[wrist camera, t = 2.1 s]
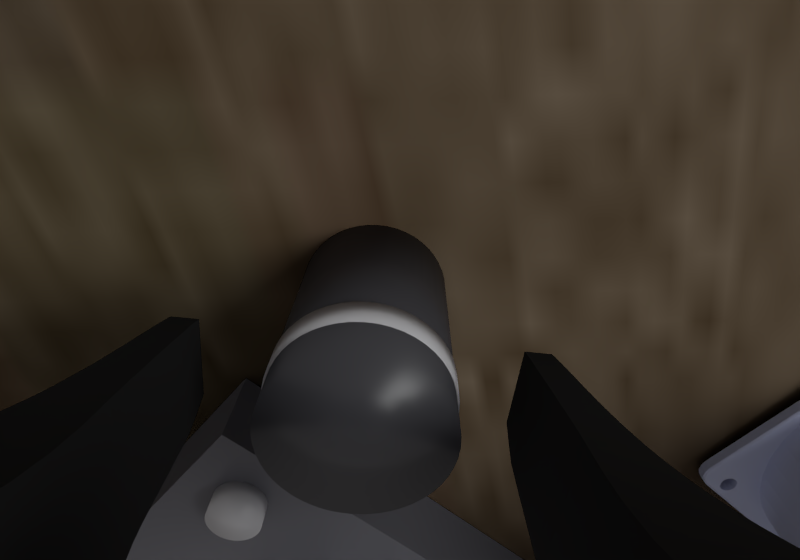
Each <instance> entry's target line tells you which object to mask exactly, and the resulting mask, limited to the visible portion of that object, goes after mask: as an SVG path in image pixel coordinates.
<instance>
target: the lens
mask: <svg viewBox="0 0 800 560" xmlns="http://www.w3.org/2000/svg"><path fill="white" fill-rule="evenodd" d="M459 407H460V397H459V388H458V379H457V371H456V366H455V363H454V359H453V356H452V347H451V337H450V328H449V319H448V310H447V301H446V292H445V283H444V277H443V273H442V270H441V268H440V265H439V263H438V261H437V260H436V258H435V256H434V255H433V254H432V252H431V251H430V250H429V249H428V248H427V247H426V246H425V245H424V244H423V243H422V242H421V241H419V240H418V239H416V238H415V237H413V236H412V235H410V234H408V233H406V232H404V231H401V230H398V229H395V228H391V227H388V226H380V225H365V226H358V227H354V228H349V229H347V230H344V231H342V232H339V233H338V234H336V235H334V236H332V237H331V238H329V239H328V240H327V241H325V242H324V243H323V244H322V245H321V246H320V247H319V248H318V249H317V251H316V252H315V253H314V255H313V256H312V258H311V260H310V262H309V264H308V267H307V270H306V272H305V275H304V278H303V280H302V283H301V286H300V288H299V291H298V293H297V296H296V299H295V301H294V304H293V307H292V309H291V312H290V315H289V317H288V320H287V323H286V325H285V328H284V331H283V333H282V336H281V338H280V339H279V341H278V343H277V344H276V346H275V348H274V350H273V353H272V356H271V358H270V361H269V364H268V366H267V369H266V371H265V374H264V377H263V381H262V386H261V392H260V395H259V397H258V400H257V403H256V405H255V408H254V410H253V413H252V419H251V428H250V435H251V441H252V446H253V449H254V452H255V455H256V457H257V459H258V461H259V463H260V465H261V466H262V467H263V469H264V470H265V472H266V473H267V474H268V475H269V476H270V477H271V479H272V480H273V481H274V482H275V483H276V484H278V485H279V486H280V487H281V488H282V489H284V490H285V491H287V492H288V493H289V494H291V495H292V496H294V497H296V498H298V499H300V500H302V501H304V502H306V503H308V504H311V505H313V506H316V507H319V508H322V509H325V510H329V511H334V512H339V513H347V514H376V513H383V512H389V511H393V510H397V509H400V508H403V507H406V506H409V505H411V504H414V503H416V502H417V501H419V500H421V499H423V498H425V497H426V496H428V495H429V494H431V493H432V492H433V491H435V490H436V489H437V488H438V487H439V486H440V485H441V484H442V483H443V482H444V481H445V480H446V479H447V477H448V476H449V475H450V473H451V471H452V470H453V468H454V466H455V464H456V462H457V459H458V457H459V452H460V448H461V429H460V419H459Z"/></svg>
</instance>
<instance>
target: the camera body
mask: <svg viewBox="0 0 800 560" xmlns="http://www.w3.org/2000/svg"><path fill="white" fill-rule="evenodd" d="M260 392H261V388H260V387H259V386H257V385H256V384H254V383H253V382H251V381H250V380H248V379H247V378H246V379H245V380H244V381H243V382H242V383H241V384H240V385H239V386H238V387H237V388H236V389H235V390H234V391H233V393H232V394H231V395H230V396H229V397H228V398H227V399H226V400H225V401H224V402H223V403H222V404H221V405H220V406H219V407H218V409H217V410H216V411H215V412H214V413H213V414H212V415H211V416H210V417H209V418H208V419H207V420H206V421H205V422H204V423H203V425H202V426H201V427H200V428H199V429H198V430H197V431H196V432H195V433H194V434H193V435H192V436H191V437H190V438H189V439H188V441H187V442H186V443H185V444H184V445H183V447H182V449H181V451H180V453H179V455H178V457H177V459H176V461H175V462H174V464H173V466H172V468H171V470H170V472H169V474H168V476H167V478H166V480H165V481H164V483H163V485H162V487H161V489H160V491H159V493H158V495H157V497H156V498H155V500H154V502H153V504H152V506H151V508H150V510H149V512H148V513H147V515H146V517H145V519H144V521H143V523H142V525H141V527H140V529H139V531H138V533H137V536H136V538H135V540H134V542H133V544H132V547H131V549H130V551H129V554H128V556H127V559H126V560H523V559H522V558H520V557H519V556H517V555H516V554H514V553H513V552H511V551H510V550H508V549H507V548H505V547H504V546H502V545H500V544H499V543H497V542H496V541H494V540H493V539H491V538H490V537H488V536H487V535H485V534H484V533H482V532H481V531H479V530H478V529H476V528H474V527H473V526H471V525H470V524H468V523H467V522H465V521H464V520H462V519H461V518H459V517H458V516H456V515H455V514H453V513H452V512H450V511H448V510H447V509H445V508H444V507H442V506H441V505H439V504H438V503H436V502H435V501H433V500H432V499H430V498H429V497H427V496H426V497H425V498H423V499H421V500H419V501H417V502H416V503H414V504H411V505H409V506H406V507H403V508H400V509H397V510H393V511H389V512H383V513H376V514H347V513H339V512H334V511H329V510H325V509H322V508H319V507H316V506H313V505H311V504H308V503H306V502H304V501H302V500H300V499H298V498H296V497H294V496H292V495H291V494H289V493H288V492H287V491H285V490H284V489H282V488H281V487H280V486H279V485H278V484H276V483H275V482H274V481H273V480H272V479H271V477H270V476H269V475H268V474H267V473H266V472H265V470H264V469H263V467H262V466H261V465H260V463H259V461H258V459H257V457H256V455H255V452H254V449H253V446H252V441H251V435H250V428H251V419H252V413H253V410H254V408H255V405H256V403H257V400H258V397H259V395H260Z"/></svg>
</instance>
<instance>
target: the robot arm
mask: <svg viewBox="0 0 800 560" xmlns="http://www.w3.org/2000/svg"><path fill="white" fill-rule="evenodd" d="M203 394H204V392H203V376H202V360H201V344H200V328H199V319H191V318H181V317H169V318H167V319H165V320H164V321H162V322H160V323H159V324H157V325H155V326H154V327H152V328H150V329H149V330H147V331H146V332H144V333H142V334H141V335H139V336H138V337H136V338H135V339H133V340H131V341H130V342H128V343H127V344H125V345H123V346H122V347H120V348H118V349H117V350H115V351H114V352H112V353H110V354H109V355H107V356H105V357H104V358H102V359H101V360H99V361H97V362H96V363H94V364H92V365H90V366H88V367H87V368H85V369H83V370H81V371H79V372H78V373H76V374H74V375H72V376H70V377H69V378H67V379H65V380H63V381H61V382H60V383H58V384H56V385H54V386H52V387H50V388H48V389H46V390H45V391H43V392H41V393H38V394H36V395H34V396H32V397H30V398H28V399H26V400H24V401H22V402H20V403H17V404H15V405H13V406H11V407H9V408H6V409H4V410H2V411H0V560H126V559H127V556H128V554H129V551H130V549H131V547H132V544H133V542H134V540H135V538H136V536H137V533H138V531H139V529H140V527H141V525H142V523H143V521H144V519H145V517H146V515H147V513H148V512H149V510H150V508H151V506H152V504H153V502H154V500H155V498H156V497H157V495H158V493H159V491H160V489H161V487H162V485H163V483H164V481H165V480H166V478H167V476H168V474H169V472H170V470H171V468H172V466H173V464H174V462H175V461H176V459H177V457H178V455H179V453H180V451H181V449H182V447H183V445H184V443H185V441H186V439H187V437H188V435H189V433H190V430H191V428H192V425H193V423H194V420H195V417H196V414H197V412H198V409H199V406H200V403H201V400H202V397H203ZM507 430H508V440H509V448H510V456H511V464H512V468H513V472H514V476H515V480H516V484H517V488H518V492H519V496H520V500H521V504H522V508H523V512H524V516H525V520H526V524H527V528H528V531H529V535H530V539H531V543H532V547H533V551H534V555H535V559H536V560H800V400H799V401H797V402H796V403H794V404H793V405H791V406H790V407H788V408H787V409H785V410H783V411H782V412H780V413H779V414H777V415H776V416H774V417H773V418H771V419H770V420H768V421H766V422H765V423H763V424H762V425H760V426H759V427H757V428H756V429H754V430H752V431H751V432H749V433H748V434H746V435H745V436H743V437H742V438H740V439H738V440H737V441H735V442H734V443H732V444H731V445H729V446H728V447H726V448H725V449H723V450H721V451H720V452H718V453H717V454H715V455H714V456H712V457H711V458H709V459H707V460H706V461H705V462H704V463H702V464H701V466H700V468H699V474H700V476H701V478H702V480H703V481H704V482H705V484H706V485H707V486H709V487H710V488H711V489H712V490H713V491H715V492H716V493H717V494H718V495H720V496H721V497H722V498H723V499H724V500H726V501H727V502H728V503H729V504H731V505H732V506H733V507H734V508H735V509H737V510H738V511H739V512H740V513H741V514H743V515H744V516H745V517H744V516H743V515H741V514H740V513H738V512H736V511H735V510H733V509H732V508H730V507H729V506H727V505H726V504H724V503H723V502H721V501H720V500H718V499H717V498H715V497H713V496H712V495H710V494H709V493H707V492H706V491H704V490H703V489H702V488H700V487H699V486H697V485H696V484H694V483H693V482H692V481H690V480H689V479H687V478H686V477H685V476H683V475H682V474H681V473H680V472H678V471H677V470H676V469H674V468H673V467H672V466H670V465H669V464H668V463H667V462H665V461H664V460H663V459H661V458H660V457H659V456H658V455H656V454H655V453H654V452H653V451H651V450H650V449H649V448H648V447H647V446H645V445H644V444H643V443H642V442H641V441H640V440H639V439H638V438H636V437H635V436H634V435H633V434H632V433H631V432H630V431H629V430H627V429H626V428H625V427H624V426H623V425H622V424H621V423H620V422H619V421H618V420H617V419H616V418H614V417H613V416H612V415H611V414H610V413H609V412H608V411H607V410H606V409H605V408H604V407H603V406H602V405H601V404H600V403H599V402H598V401H597V400H596V399H595V398H594V397H593V396H592V395H591V394H590V393H589V392H588V391H587V390H586V389H585V388H584V387H583V386H582V384H581V383H580V382H579V381H578V380H577V379H576V378H575V377H574V376H573V375H572V374H571V373H570V372H569V371H568V370H567V369H566V368H565V367H564V366H563V365H562V364H561V363H560V362H559V361H558V360H557V359H556V358H555V357H554V356H553V355H552V354H543V353H533V352H525V353H524V357H523V361H522V365H521V369H520V373H519V377H518V380H517V384H516V388H515V392H514V396H513V400H512V404H511V408H510V412H509V416H508V420H507Z"/></svg>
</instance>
